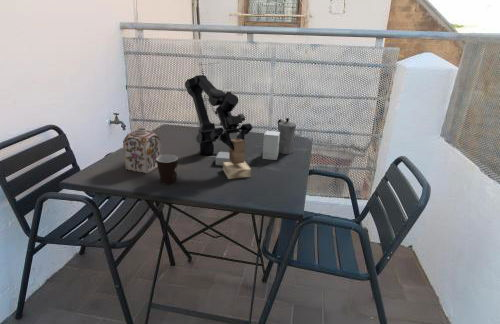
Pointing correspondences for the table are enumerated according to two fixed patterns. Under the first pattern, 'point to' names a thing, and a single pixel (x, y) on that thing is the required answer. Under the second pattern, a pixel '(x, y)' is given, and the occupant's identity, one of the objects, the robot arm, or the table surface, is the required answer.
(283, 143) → the coffeepot
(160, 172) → the coffee mug
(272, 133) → the supplement box
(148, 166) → the decorative jar
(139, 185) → the table surface
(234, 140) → the walnut block
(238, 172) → the beech block
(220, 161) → the slate block
